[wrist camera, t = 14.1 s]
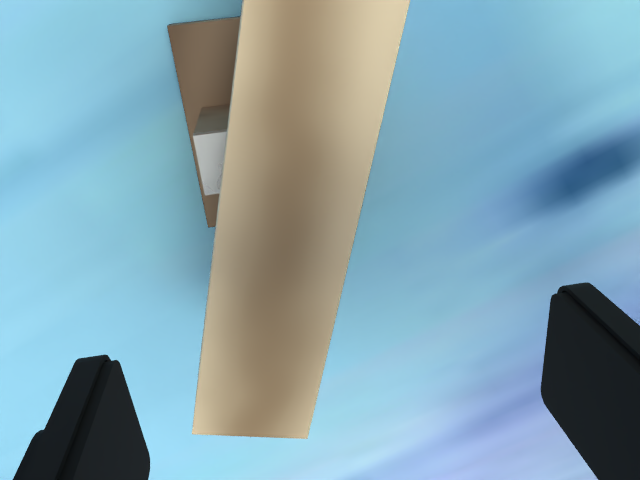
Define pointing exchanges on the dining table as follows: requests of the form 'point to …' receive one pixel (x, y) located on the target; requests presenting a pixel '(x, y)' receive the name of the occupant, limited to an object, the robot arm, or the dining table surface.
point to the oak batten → (290, 205)
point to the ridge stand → (206, 95)
